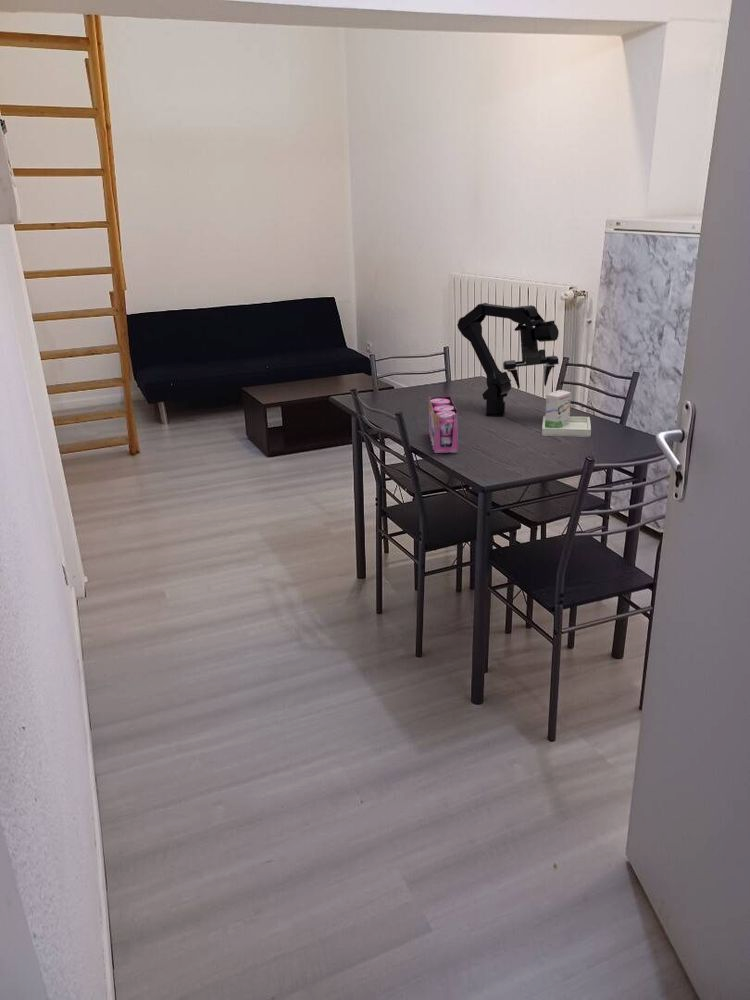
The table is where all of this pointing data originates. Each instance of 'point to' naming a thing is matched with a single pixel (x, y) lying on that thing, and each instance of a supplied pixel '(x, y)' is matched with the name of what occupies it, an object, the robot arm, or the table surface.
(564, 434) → the tray
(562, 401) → the ink box
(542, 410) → the table surface
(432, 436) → the gum box
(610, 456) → the table surface
